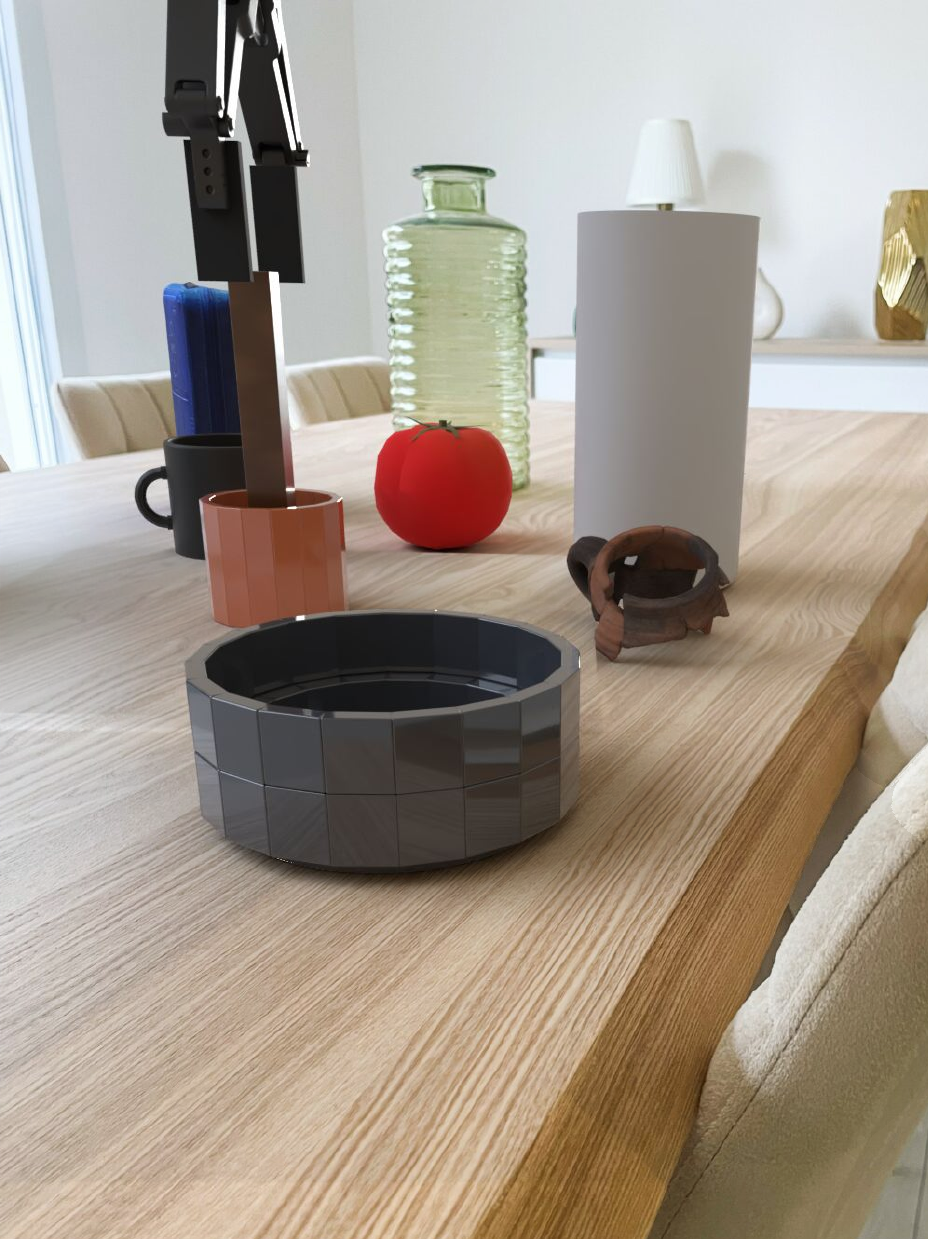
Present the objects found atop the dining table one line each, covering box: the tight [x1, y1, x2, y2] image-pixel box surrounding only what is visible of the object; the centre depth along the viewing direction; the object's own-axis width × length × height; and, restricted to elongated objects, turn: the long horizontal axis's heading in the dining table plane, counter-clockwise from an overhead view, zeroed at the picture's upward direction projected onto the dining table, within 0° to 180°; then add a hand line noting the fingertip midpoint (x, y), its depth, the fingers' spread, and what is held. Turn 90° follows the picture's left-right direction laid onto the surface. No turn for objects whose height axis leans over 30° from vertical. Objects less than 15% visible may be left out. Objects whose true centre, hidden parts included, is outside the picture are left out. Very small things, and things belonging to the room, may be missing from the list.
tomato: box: [373, 416, 514, 550], centre depth 101 cm, size 12×12×10 cm
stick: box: [227, 270, 296, 508], centre depth 73 cm, size 2×2×20 cm
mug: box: [134, 433, 296, 561], centre depth 94 cm, size 9×12×9 cm
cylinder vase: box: [572, 209, 762, 590], centre depth 87 cm, size 12×12×25 cm
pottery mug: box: [566, 525, 731, 662], centre depth 74 cm, size 12×10×8 cm
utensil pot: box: [199, 487, 350, 629], centre depth 76 cm, size 8×8×8 cm
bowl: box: [183, 608, 582, 875], centre depth 50 cm, size 16×16×6 cm
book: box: [162, 281, 241, 437], centre depth 111 cm, size 14×5×20 cm, turn 25°
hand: (256, 283), depth 70 cm, fingers open, 13 cm apart
